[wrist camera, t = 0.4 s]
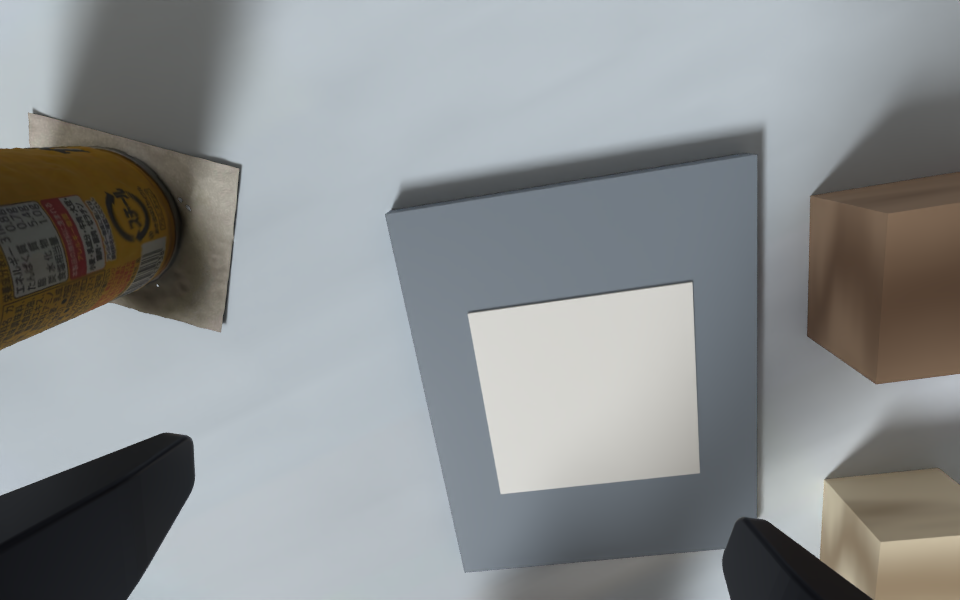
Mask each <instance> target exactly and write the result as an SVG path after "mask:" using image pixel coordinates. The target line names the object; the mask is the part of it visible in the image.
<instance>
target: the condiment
mask: <svg viewBox="0 0 960 600" xmlns="http://www.w3.org/2000/svg"><path fill="white" fill-rule="evenodd" d="M28 118H29V143H30V148H24V149H22V148H13V149H7V148H6V149H0V350H2V349H4V348H6V347H8V346H11V345H13V344H15V343H17V342H19V341H22V340H24V339H27V338H29V337H31V336H34V335H36V334H38V333H41V332H43V331H45V330H47V329H49V328H52V327H54V326H56V325H58V324H61V323H63V322H66V321H68V320H70V319H73V318H75V317H77V316H79V315H81V314H84V313H86V312H88V311H90V310H93V309H95V308H97V307H99V306H102V305H104V304H106V303H115V304H119V305H121V306H125V307H128V308H133V309H135V310H138V311H140V312H144V313H149V314H154V315H158V316H162V317H164V318H170V319H174V320H178V321H182V322H185V323H188V324H191V325H194V326H197V327H200V328H206V329H210V330H214V331H217V332H221V328H222V320H223V314H224V310H225V300H226V293H227V282H228V278H229V269H230V260H231V249H232V244H233V239H234V236H233V227H234V216H235V210H236V203H237V187H238V176H239V168H235V167H231V166H227V165H223V164H219V163H215V162H212V161H209V160H205V159H201V158H197V157H193V156H189V155H186V154H182V153H178V152H175V151H171V150H167V149H163V148H160V147H156V146H153V145H149V144H145V143H142V142H138V141H135V140H131V139H128V138H124V137H120V136H117V135H113V134H109V133H105V132H101V131H98V130H94V129H90V128H87V127H83V126H79V125H76V124H71V123H67V122H63V121H60V120H57V119H53V118H49V117H45V116H41V115H37V114H32V113H28ZM178 198H182V202H180V201H179V200H178ZM186 205H188V206H189V207H190V209H191V211H189V210H188V209H187V208H186ZM157 284H158V285H159V287H157Z"/></svg>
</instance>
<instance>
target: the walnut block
mask: <svg viewBox="0 0 960 600" xmlns="http://www.w3.org/2000/svg"><path fill="white" fill-rule="evenodd" d="M807 336H808V337H809V338H810V339H812V340H813V341H815V342H816V343H818V344H819V345H820V346H822V347H823V348H825V349H826V350H828V351H829V352H831V353H832V354H833V355H835V356H836V357H838V358H839V359H841V360H842V361H843V362H845V363H846V364H848V365H849V366H851V367H852V368H853V369H855V370H856V371H858V372H859V373H861V374H862V375H863V376H865V377H866V378H868V379H869V380H871V381H872V382H874V383H875V384H882V383H890V382H898V381H906V380H914V379H922V378H930V377H938V376H946V375H954V374H960V172H955V173H948V174H942V175H936V176H930V177H924V178H917V179H911V180H905V181H899V182H893V183H886V184H880V185H874V186H868V187H862V188H856V189H849V190H843V191H837V192H831V193H825V194H818V195H812V196H810V237H809V280H808V324H807Z"/></svg>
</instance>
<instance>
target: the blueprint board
mask: <svg viewBox="0 0 960 600" xmlns="http://www.w3.org/2000/svg"><path fill="white" fill-rule="evenodd" d="M385 217H386V221H387V226H388V230H389V235H390V239H391V244H392V248H393V253H394V257H395V262H396V266H397V271H398V275H399V280H400V284H401V289H402V293H403V298H404V302H405V307H406V311H407V316H408V320H409V325H410V329H411V334H412V338H413V343H414V347H415V352H416V356H417V361H418V365H419V370H420V374H421V379H422V383H423V388H424V392H425V397H426V401H427V406H428V410H429V415H430V419H431V424H432V428H433V433H434V437H435V442H436V446H437V451H438V455H439V460H440V464H441V469H442V473H443V478H444V482H445V487H446V491H447V496H448V500H449V505H450V509H451V514H452V518H453V523H454V527H455V532H456V536H457V541H458V545H459V550H460V554H461V559H462V563H463V568H464V572H465V573H466V572H477V571H488V570H499V569H510V568H521V567H531V566H542V565H553V564H564V563H575V562H586V561H597V560H608V559H619V558H630V557H641V556H652V555H663V554H674V553H685V552H696V551H706V550H717V549H725V548H726V545H727V543H728V540H729V537H730V535H731V532H732V529H733V527H734V524H735V522H736V520H737V519H738V518H740V517H750V518H757V154H748V153H743V154H737V155H731V156H725V157H718V158H712V159H706V160H700V161H694V162H688V163H681V164H675V165H669V166H663V167H657V168H651V169H644V170H638V171H632V172H626V173H620V174H613V175H607V176H601V177H595V178H589V179H583V180H576V181H570V182H564V183H558V184H552V185H545V186H539V187H533V188H527V189H521V190H515V191H508V192H502V193H496V194H490V195H484V196H477V197H471V198H465V199H459V200H453V201H447V202H440V203H434V204H428V205H422V206H416V207H409V208H403V209H397V210H391V211H389V212H388V213H386V214H385Z"/></svg>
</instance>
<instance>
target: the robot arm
mask: <svg viewBox="0 0 960 600" xmlns="http://www.w3.org/2000/svg"><path fill="white" fill-rule="evenodd" d="M194 481H195V467H194V446H193V441H192V439H191V438H190V437H189V436H187V435H181V434H174V433H162V434H159V435H157V436H154V437H151V438H149V439H146V440H144V441H141V442H138V443H136V444H133V445H131V446H128V447H125V448H123V449H120V450H118V451H115V452H113V453H110V454H107V455H105V456H102V457H100V458H97V459H94V460H92V461H89V462H87V463H84V464H82V465H79V466H76V467H74V468H71V469H69V470H66V471H63V472H61V473H58V474H56V475H53V476H50V477H48V478H45V479H43V480H40V481H38V482H35V483H32V484H30V485H27V486H25V487H22V488H19V489H17V490H14V491H12V492H9V493H6V494H4V495H1V496H0V600H127V598H128V597H129V595H130V594H131V593H132V591H133V590H134V588H135V587H136V585H137V584H138V582H139V581H140V579H141V577H142V576H143V574H144V573H145V571H146V569H147V568H148V566H149V564H150V563H151V561H152V559H153V557H154V556H155V554H156V552H157V551H158V549H159V547H160V545H161V544H162V542H163V540H164V538H165V537H166V535H167V533H168V532H169V530H170V528H171V526H172V525H173V523H174V521H175V519H176V518H177V516H178V514H179V513H180V511H181V509H182V507H183V506H184V504H185V502H186V500H187V499H188V497H189V495H190V493H191V491H192V489H193V486H194ZM722 566H723V572H724V576H725V580H726V584H727V587H728V591H729V595H730V599H731V600H873V599H872V598H871V597H869V596H868V595H867V594H865V593H864V592H863V591H861V590H860V589H858V588H857V587H856V586H854V585H853V584H852V583H850V582H849V581H848V580H846V579H845V578H844V577H842V576H841V575H840V574H838V573H837V572H836V571H834V570H833V569H832V568H830V567H829V566H827V565H826V564H825V563H823V562H822V561H821V560H819V559H818V558H817V557H815V556H814V555H813V554H811V553H810V552H809V551H807V550H806V549H805V548H803V547H802V546H800V545H799V544H798V543H796V542H795V541H794V540H792V539H791V538H790V537H788V536H787V535H786V534H784V533H783V532H782V531H780V530H779V529H778V528H776V527H775V526H774V525H772V524H771V523H769V522H768V521H766V520H763V519H757V518H750V517H740V518H738V519H737V520H736V522H735V524H734V527H733V529H732V532H731V535H730V537H729V540H728V543H727V545H726V548H725V551H724V554H723V559H722Z"/></svg>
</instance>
